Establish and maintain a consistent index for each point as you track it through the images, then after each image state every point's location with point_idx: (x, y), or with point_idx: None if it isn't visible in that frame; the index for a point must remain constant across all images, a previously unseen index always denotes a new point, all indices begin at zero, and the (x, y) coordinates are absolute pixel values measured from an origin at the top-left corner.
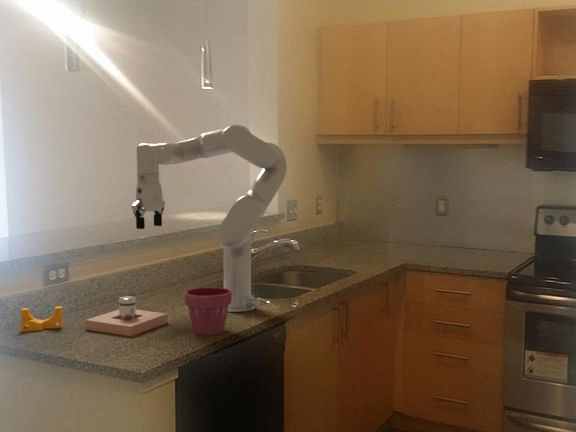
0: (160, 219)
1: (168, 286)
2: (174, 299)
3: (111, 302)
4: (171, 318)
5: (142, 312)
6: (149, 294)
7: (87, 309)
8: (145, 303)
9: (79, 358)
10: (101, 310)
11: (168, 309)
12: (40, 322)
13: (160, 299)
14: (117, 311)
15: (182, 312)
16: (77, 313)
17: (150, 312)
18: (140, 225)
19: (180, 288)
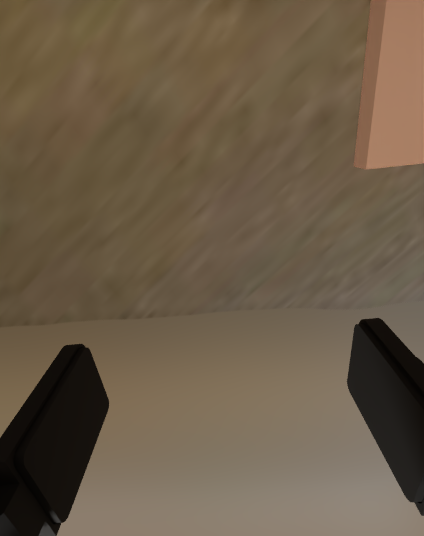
0: (51, 401)
1: (25, 320)
2: (116, 199)
3: (239, 306)
4: (314, 4)
5: (402, 61)
6: (121, 295)
7: (322, 299)
8: (201, 232)
9: None
10: (317, 267)
11: (221, 117)
12: None
13: (142, 232)
14: (413, 150)
15: (228, 37)
16: (364, 289)
17: (394, 31)
18: (419, 359)
19: (14, 281)
